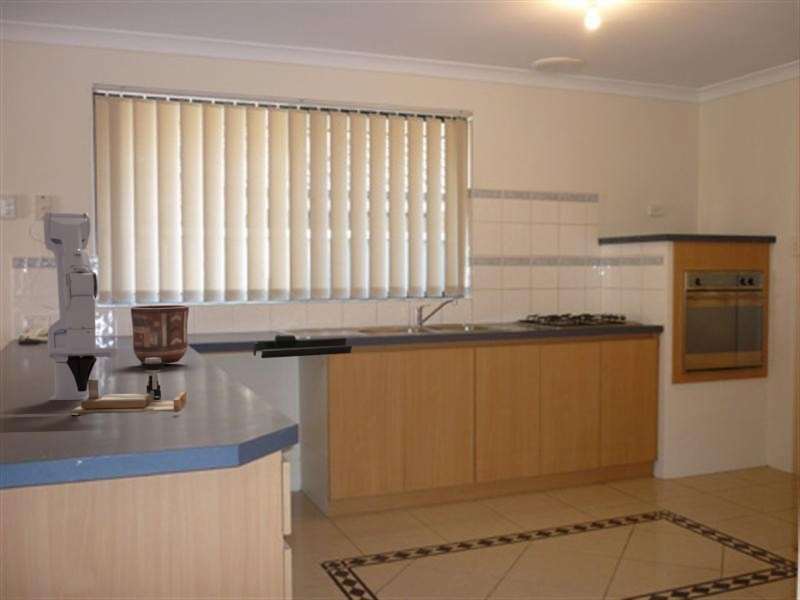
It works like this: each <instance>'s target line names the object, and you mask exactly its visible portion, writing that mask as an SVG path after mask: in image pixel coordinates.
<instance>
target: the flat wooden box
mask: <svg viewBox="0 0 800 600" xmlns="http://www.w3.org/2000/svg"><path fill="white" fill-rule="evenodd" d="M186 403H187V391H181V392H180V393H179V394H178V395H176V397H175V398H174V399H173V400H163V399H159V400H152V401H151V402H150V403H149V404H148V405H147V406H145V407H131V408H82V409H81V404H80V405H79V406H77V407H75V408H74V409H72V410H71V411H70V414H71V413H79V414H81V413H83V414H84V413H118V412H119V413H123V412H124V413H125V412H127V413H128V412H170V411H180V410H181V408H183V406H184V405H186Z"/></svg>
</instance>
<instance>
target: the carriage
mask: <svg viewBox="0 0 800 600" xmlns="http://www.w3.org/2000/svg"><path fill="white" fill-rule="evenodd" d="M88 387H89V397H88V398H86V399H84V400H80V401H81V402H80V405H81V409H82V408H131V407H145V406H147V405H148V404H149V403H150V402H151V401H152V394H148V393H115V394H114V393H109V394H99V379H97V378H92V379H90V380H88Z"/></svg>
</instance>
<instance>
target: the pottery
mask: <svg viewBox="0 0 800 600" xmlns="http://www.w3.org/2000/svg"><path fill="white" fill-rule="evenodd" d="M189 312H190V307H189V306H188V305H179V304H178V305H177V304H176V305H174V304H173V305H172V304H161V305H136V306H132V307H130V315H131V324H132V348H133V349H132V350H133V353H134V355H135V356H136V358H137V359H138V361H140V363H142V362H144V361H145V358H153V357H157V358H161V361H162V362H165V364H171V363H172V364H173V363H177V362H179V361H181V359H182V358H183V357H184V356H185V354H186V352H187V349H188V320H189V319H188V317H189ZM165 364H164V365H165Z"/></svg>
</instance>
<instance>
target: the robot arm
mask: <svg viewBox="0 0 800 600" xmlns="http://www.w3.org/2000/svg"><path fill="white" fill-rule="evenodd" d="M43 234H44V235H43V236H44V245H45V248H46V250H48V251H51V252H52V253H53V255H54V258H55V262H56V275H57V276H56V278H57V292H58V293H57V296H58V314H59V318H58V319H57V320H56V321H55V322H54V323H52V324H51V325H50V326H49V327H48V329H47V339H46V340H47V342H46V344H47V345H46V346H47V349H44V355H45V356H44V357H45V359H50V360H51V361H53V362H54V392H55V393H54V395H53V396H51V397H50V398H49V399H48V400H49V401H79V400H80V401H83V400H84V399H86V398H88V397H89V387H88V380H90V379H91V378H92V377H91V373H92V371H93V368H94V366H95V365H96V362H97V358H117V357H118V347H97V344H96V343H97V342H96V341H97V340H96V335H97V334H96V300H95V299H97V296H98V293H99V292H98V291H99V284H98V283H99V282H98V277H97V273H96V272H95V271H94V269H92V267H91V266H92V265H91V260H90V257H89V254H88V253H87V252H86V251H85V250H86V249H87V245H88V244H89V240H90V239H89V238H90V235H91V217H90V215H89V214H88V213H87V212H62V211H61V212H60V211H59V212H58V211H57V212H55V211H51V212H50V211H46V212H45V213H44V214H43Z"/></svg>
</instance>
